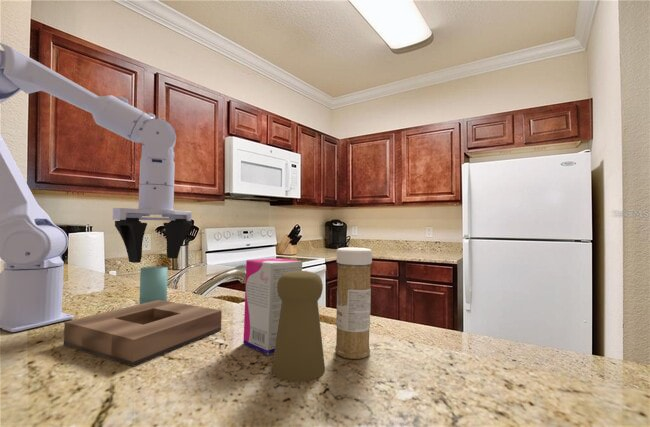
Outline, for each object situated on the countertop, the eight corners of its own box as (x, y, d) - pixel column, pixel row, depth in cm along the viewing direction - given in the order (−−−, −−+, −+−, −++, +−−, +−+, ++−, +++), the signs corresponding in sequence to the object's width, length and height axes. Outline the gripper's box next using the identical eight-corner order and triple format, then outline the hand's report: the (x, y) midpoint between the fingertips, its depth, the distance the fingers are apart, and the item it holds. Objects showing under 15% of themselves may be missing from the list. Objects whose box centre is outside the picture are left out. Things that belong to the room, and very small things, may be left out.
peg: (133, 313, 57) (134, 268, 58) (155, 307, 61) (156, 265, 62) (150, 316, 56) (151, 270, 56) (171, 310, 60) (173, 267, 60)
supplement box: (302, 343, 44) (303, 260, 45) (267, 356, 40) (269, 263, 40) (275, 333, 48) (277, 256, 49) (241, 343, 44) (243, 259, 44)
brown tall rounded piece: (318, 385, 33) (320, 277, 33) (263, 378, 34) (265, 274, 35) (329, 360, 39) (331, 269, 39) (282, 355, 40) (283, 267, 40)
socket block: (63, 344, 42) (64, 321, 42) (158, 317, 55) (158, 299, 55) (133, 366, 36) (134, 339, 37) (221, 330, 49) (221, 310, 49)
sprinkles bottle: (332, 346, 43) (334, 246, 44) (365, 346, 44) (367, 246, 44) (338, 361, 39) (339, 249, 39) (375, 360, 39) (376, 249, 40)
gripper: (133, 180, 51) (130, 266, 51) (203, 189, 64) (201, 257, 64) (105, 182, 54) (103, 263, 54) (178, 190, 67) (176, 255, 67)
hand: (154, 260), depth 59 cm, fingers open, 7 cm apart
